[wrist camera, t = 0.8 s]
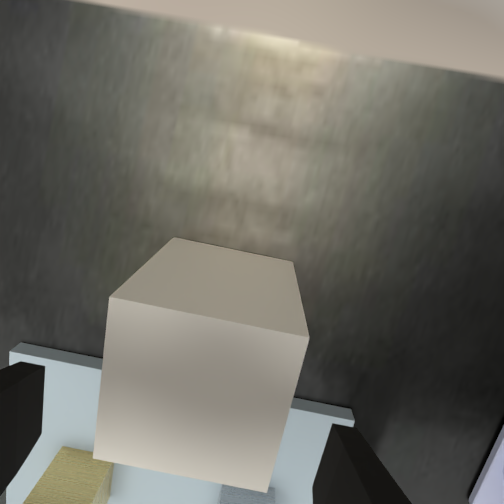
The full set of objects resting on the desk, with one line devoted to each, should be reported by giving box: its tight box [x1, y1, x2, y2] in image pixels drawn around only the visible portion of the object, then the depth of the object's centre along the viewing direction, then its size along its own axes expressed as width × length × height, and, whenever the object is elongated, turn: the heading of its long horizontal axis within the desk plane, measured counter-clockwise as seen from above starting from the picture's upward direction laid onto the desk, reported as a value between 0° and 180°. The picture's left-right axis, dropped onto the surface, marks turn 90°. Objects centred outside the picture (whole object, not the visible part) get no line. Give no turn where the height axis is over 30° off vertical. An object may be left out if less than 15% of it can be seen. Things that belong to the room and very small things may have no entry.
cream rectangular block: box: [93, 237, 310, 493], centre depth 13 cm, size 5×5×7 cm
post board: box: [6, 342, 355, 504], centre depth 19 cm, size 16×12×1 cm
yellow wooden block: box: [23, 446, 114, 504], centre depth 17 cm, size 3×3×5 cm
